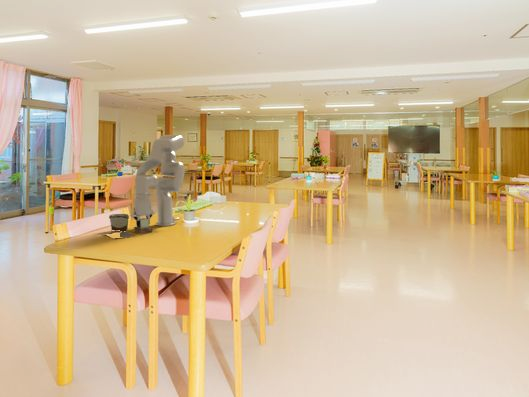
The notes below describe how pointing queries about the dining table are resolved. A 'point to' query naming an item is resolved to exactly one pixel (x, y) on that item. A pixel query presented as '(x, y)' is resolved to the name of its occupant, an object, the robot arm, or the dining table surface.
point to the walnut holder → (143, 230)
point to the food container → (119, 222)
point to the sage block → (144, 223)
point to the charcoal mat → (125, 234)
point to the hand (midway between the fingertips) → (143, 226)
